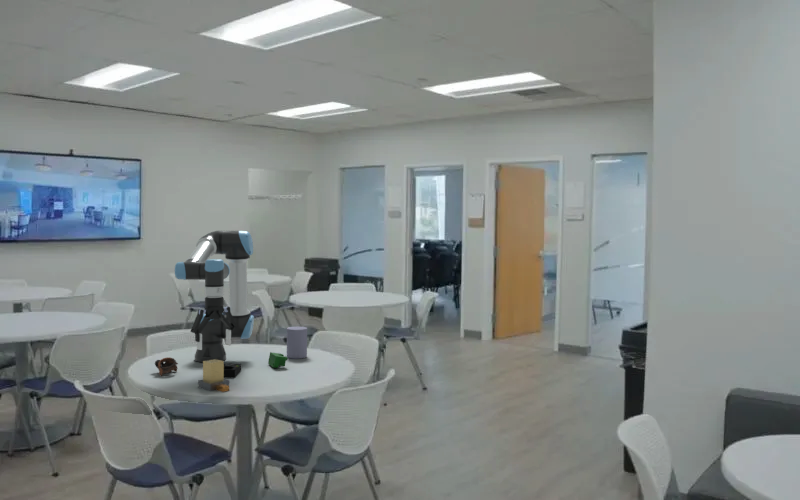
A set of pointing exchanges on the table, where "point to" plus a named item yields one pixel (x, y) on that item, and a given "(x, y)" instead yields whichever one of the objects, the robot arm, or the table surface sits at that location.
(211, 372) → the tan rectangular block
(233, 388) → the table surface
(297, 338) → the container
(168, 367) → the pottery mug
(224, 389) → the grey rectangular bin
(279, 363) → the clamp
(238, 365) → the battery charger
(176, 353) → the table surface
